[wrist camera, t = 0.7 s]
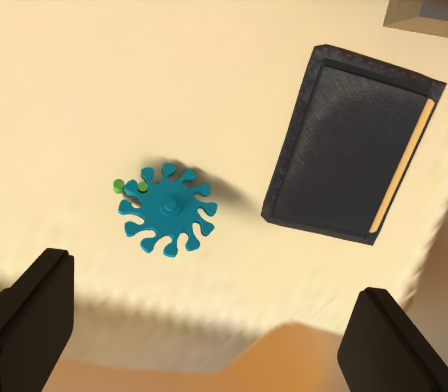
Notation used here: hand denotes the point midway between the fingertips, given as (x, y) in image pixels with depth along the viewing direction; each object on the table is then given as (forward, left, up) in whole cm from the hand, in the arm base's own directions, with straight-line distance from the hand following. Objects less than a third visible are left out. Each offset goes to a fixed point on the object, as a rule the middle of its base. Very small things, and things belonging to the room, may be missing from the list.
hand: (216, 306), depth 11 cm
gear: (+6, -4, -27) cm, 28 cm away
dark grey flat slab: (-1, +15, -28) cm, 31 cm away
